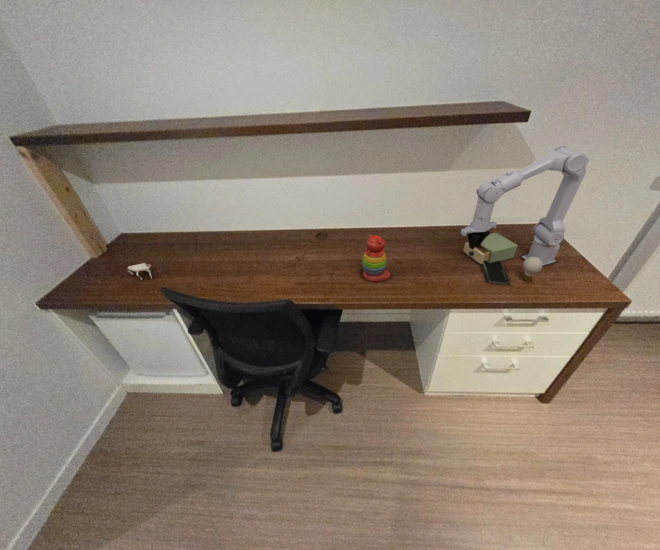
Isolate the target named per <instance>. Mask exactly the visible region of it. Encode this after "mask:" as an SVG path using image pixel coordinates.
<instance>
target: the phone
mask: <svg viewBox="0 0 660 550" xmlns="http://www.w3.org/2000/svg"><path fill="white" fill-rule="evenodd" d="M481 266H482V270H483V273H484V277H485V280H486V282H487V284H488V283H489V284H493V285H494V284H496V285H507V286H508V285H509V284H510V282H511V281H510V279H509V276H508V274H507V272H506V271H507V270H506V268H505V266H504V263H503V261H496V262H492V263H488V262H487V261H483V263H482V264H481Z"/></svg>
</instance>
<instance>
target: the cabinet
mask: <svg viewBox="0 0 660 550" xmlns="http://www.w3.org/2000/svg"><path fill="white" fill-rule="evenodd" d="M481 246H482V247H484V248H485V249H487V250H488V251H490V252H491V255H490V258H489V260H488V261H487V262H488V263H492V262H496V261H501V262H503V261H506V260H509V259H513V258H515V256H516V255H515V254H516V253H517V249H518V244H516V243H515V242H513V241H512V240H510V239H508V238H507V237H505V236H503V235H501V234H500V233H498V232H493V233H490V234H489V235H488V236H487V237H486V238H485V239H484V241H483V242H482V244H481Z"/></svg>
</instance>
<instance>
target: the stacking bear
mask: <svg viewBox="0 0 660 550" xmlns="http://www.w3.org/2000/svg"><path fill="white" fill-rule="evenodd" d="M385 247H386V241H385V239H383V238H382V237H381V236H380V235H377V234H372V233H370V234H369V235H368V238H367V240H366V249H365V250H364V253H363V256H362V261H361V264H362V268H363V271H362V277H363V278H364V280H367V281H370V282H382V281H386V280H388V279H391V276H392V274H391V272H390V271H388V270H386V266H387V255H386V252H385V249H384V248H385Z"/></svg>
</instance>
